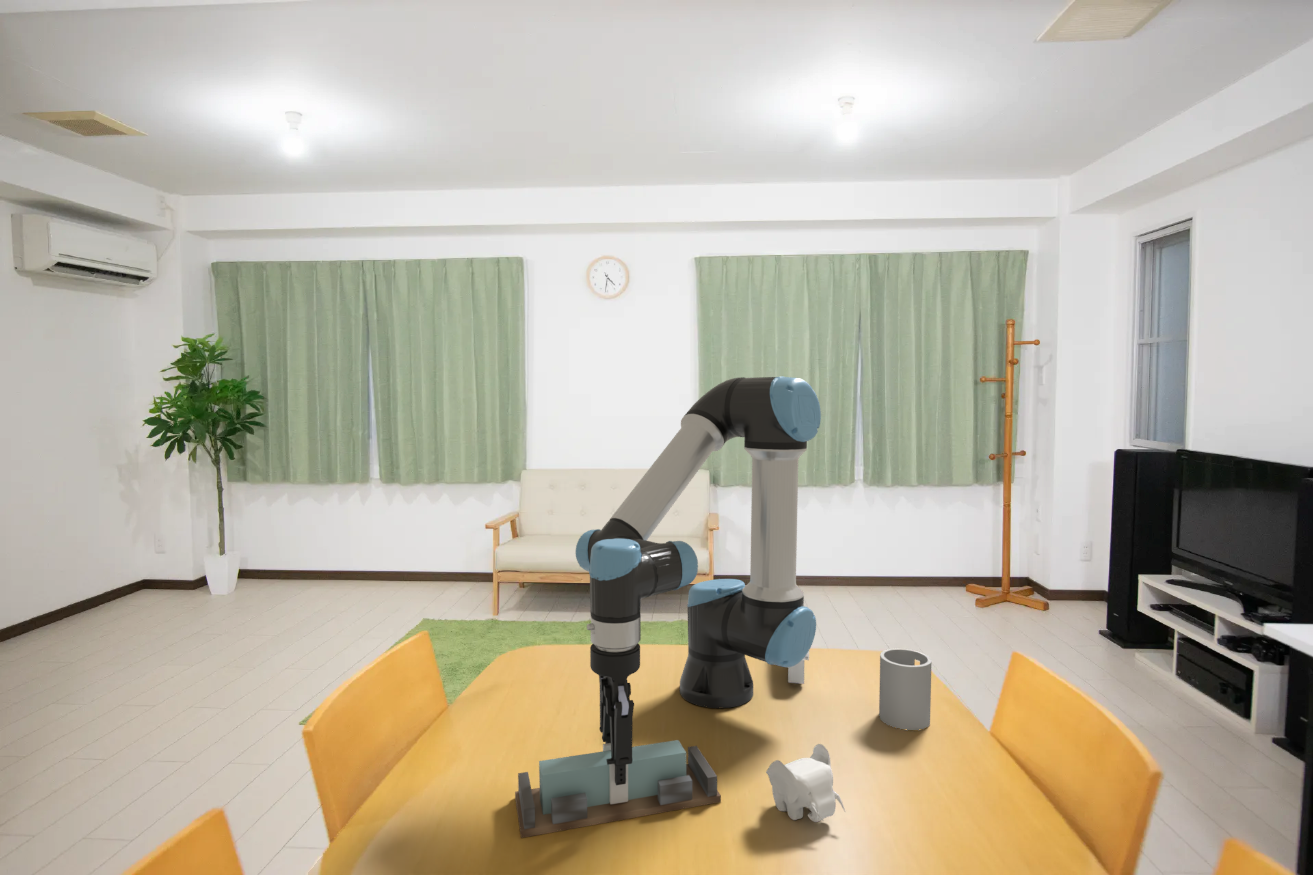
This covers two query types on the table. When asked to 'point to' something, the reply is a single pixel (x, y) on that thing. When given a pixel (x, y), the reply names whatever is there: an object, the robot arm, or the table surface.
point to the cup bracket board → (575, 813)
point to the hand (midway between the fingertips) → (615, 792)
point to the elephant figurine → (805, 786)
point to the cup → (905, 689)
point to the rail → (594, 773)
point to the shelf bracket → (797, 671)
